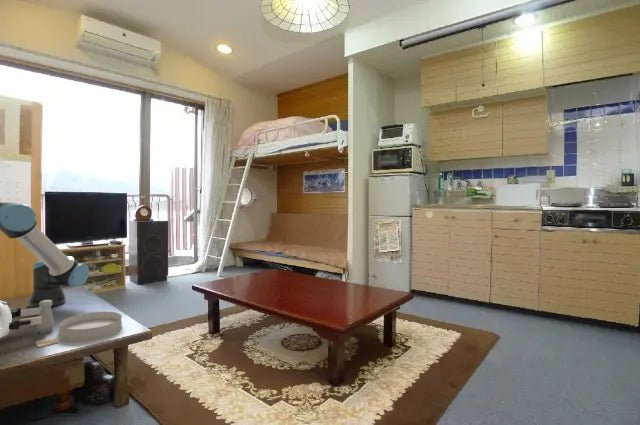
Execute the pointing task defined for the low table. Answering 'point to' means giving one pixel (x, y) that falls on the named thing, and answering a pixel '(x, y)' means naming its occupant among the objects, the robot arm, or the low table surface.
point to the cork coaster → (46, 342)
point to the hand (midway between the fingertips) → (41, 314)
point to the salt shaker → (45, 317)
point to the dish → (90, 326)
